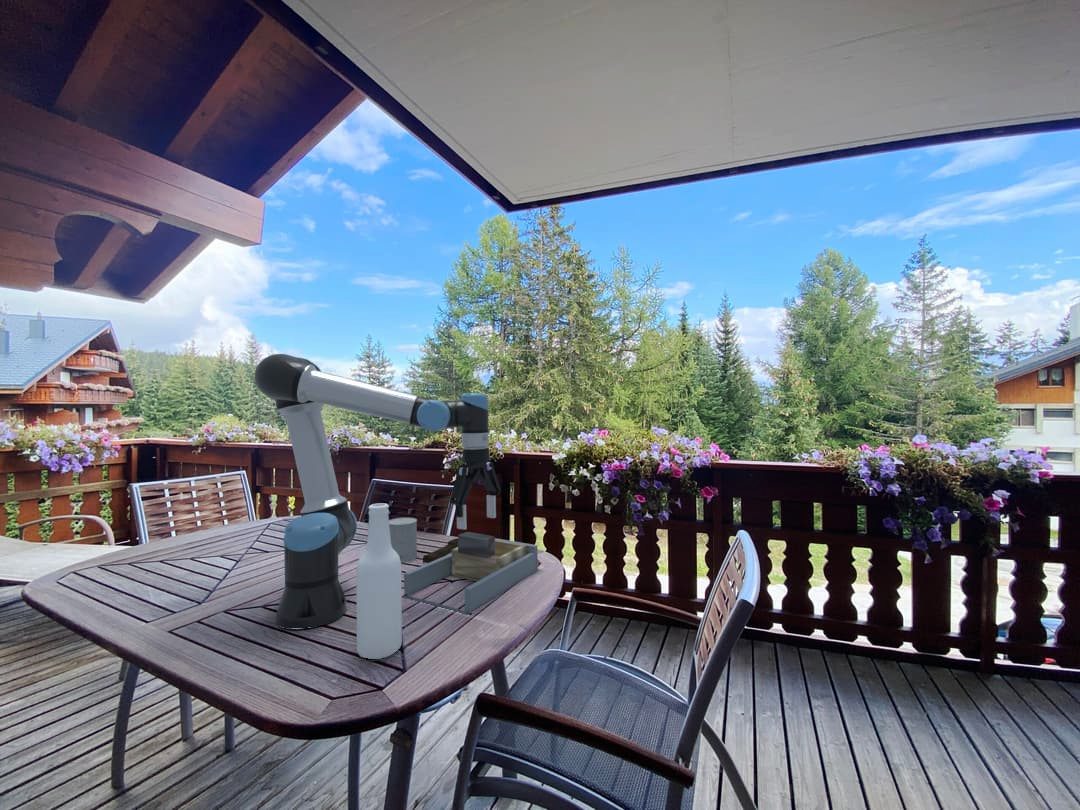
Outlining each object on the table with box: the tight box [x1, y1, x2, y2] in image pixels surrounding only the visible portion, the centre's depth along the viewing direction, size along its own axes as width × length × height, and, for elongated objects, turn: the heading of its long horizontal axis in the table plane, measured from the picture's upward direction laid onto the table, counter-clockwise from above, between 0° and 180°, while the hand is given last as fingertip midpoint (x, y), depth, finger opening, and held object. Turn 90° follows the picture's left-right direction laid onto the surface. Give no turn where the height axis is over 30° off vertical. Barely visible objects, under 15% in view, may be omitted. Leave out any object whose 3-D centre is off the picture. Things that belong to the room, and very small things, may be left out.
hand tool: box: [422, 537, 458, 564], centre depth 153 cm, size 19×4×5 cm, turn 155°
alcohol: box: [355, 502, 403, 659], centre depth 95 cm, size 9×9×30 cm
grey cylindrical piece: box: [389, 517, 418, 563], centre depth 153 cm, size 10×10×12 cm
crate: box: [451, 531, 527, 582], centre depth 134 cm, size 15×17×12 cm
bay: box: [403, 537, 539, 617], centre depth 129 cm, size 32×22×8 cm
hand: (477, 523), depth 129 cm, fingers open, 13 cm apart
